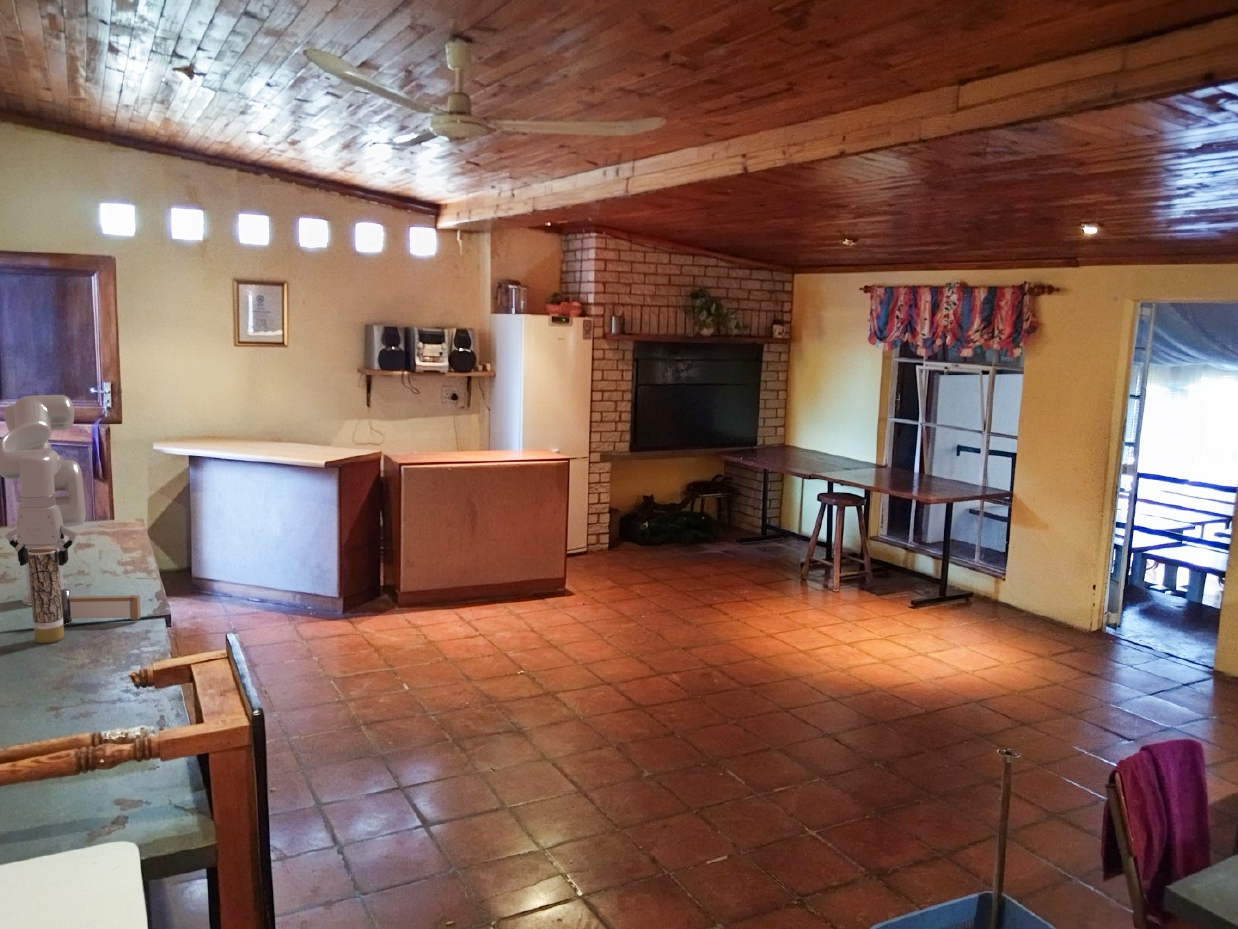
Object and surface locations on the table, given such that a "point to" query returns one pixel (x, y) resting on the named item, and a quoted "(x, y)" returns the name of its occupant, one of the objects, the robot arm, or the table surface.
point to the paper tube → (46, 594)
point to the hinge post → (66, 605)
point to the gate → (105, 607)
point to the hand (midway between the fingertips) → (43, 564)
